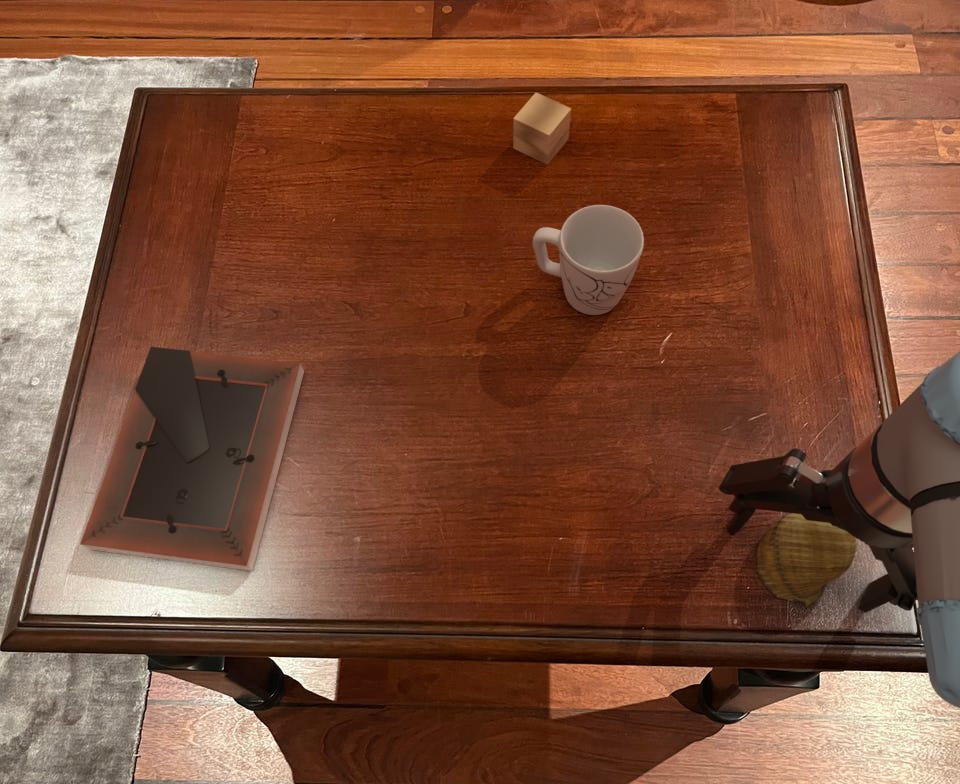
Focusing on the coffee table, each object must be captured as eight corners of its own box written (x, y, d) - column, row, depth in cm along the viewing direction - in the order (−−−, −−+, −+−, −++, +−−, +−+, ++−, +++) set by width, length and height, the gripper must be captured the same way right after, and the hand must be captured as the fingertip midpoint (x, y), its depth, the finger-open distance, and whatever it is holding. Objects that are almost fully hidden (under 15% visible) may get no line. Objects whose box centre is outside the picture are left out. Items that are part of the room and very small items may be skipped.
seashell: (785, 607, 77) (864, 618, 71) (739, 594, 74) (818, 605, 67) (795, 508, 80) (872, 510, 73) (751, 491, 76) (828, 492, 69)
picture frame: (159, 357, 87) (91, 550, 78) (150, 346, 85) (78, 543, 76) (305, 373, 86) (253, 571, 76) (300, 362, 83) (246, 565, 74)
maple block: (568, 138, 99) (571, 108, 94) (547, 165, 97) (549, 135, 93) (534, 122, 100) (535, 92, 96) (513, 148, 99) (513, 118, 94)
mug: (518, 302, 89) (519, 248, 80) (545, 244, 92) (549, 186, 83) (616, 334, 86) (629, 283, 78) (640, 274, 90) (655, 218, 81)
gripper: (1098, 534, 54) (943, 598, 73) (762, 359, 60) (701, 460, 80) (1064, 629, 51) (912, 670, 70) (716, 435, 58) (665, 521, 77)
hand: (800, 559), depth 75 cm, fingers open, 12 cm apart
